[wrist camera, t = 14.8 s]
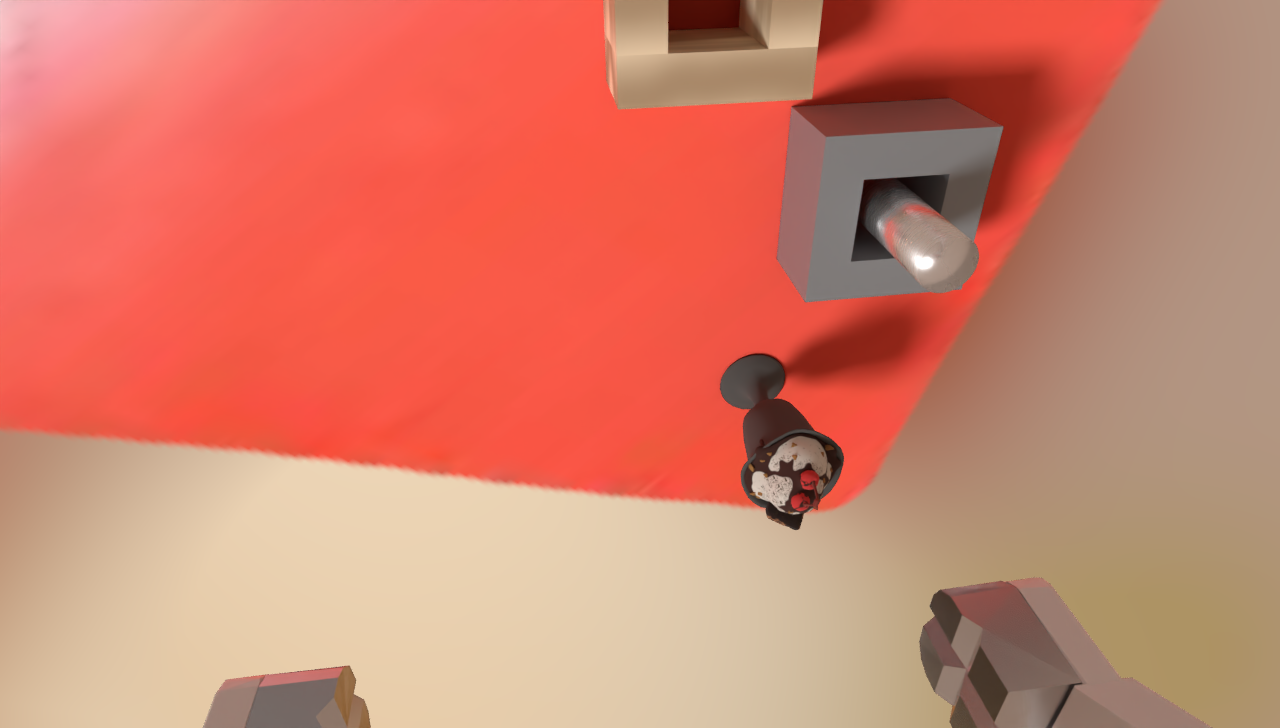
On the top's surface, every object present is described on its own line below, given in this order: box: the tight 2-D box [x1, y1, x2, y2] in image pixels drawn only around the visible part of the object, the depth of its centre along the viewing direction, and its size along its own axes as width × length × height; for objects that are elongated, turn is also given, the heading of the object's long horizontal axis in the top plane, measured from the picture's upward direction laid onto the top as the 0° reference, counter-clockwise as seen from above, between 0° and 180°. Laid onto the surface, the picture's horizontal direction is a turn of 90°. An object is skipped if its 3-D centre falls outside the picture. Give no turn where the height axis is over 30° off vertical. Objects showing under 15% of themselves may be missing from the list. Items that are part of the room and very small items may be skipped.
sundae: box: [720, 355, 844, 530], centre depth 49 cm, size 7×7×15 cm
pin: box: [858, 178, 979, 293], centre depth 42 cm, size 3×3×12 cm
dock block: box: [777, 98, 1004, 302], centre depth 45 cm, size 10×10×6 cm
